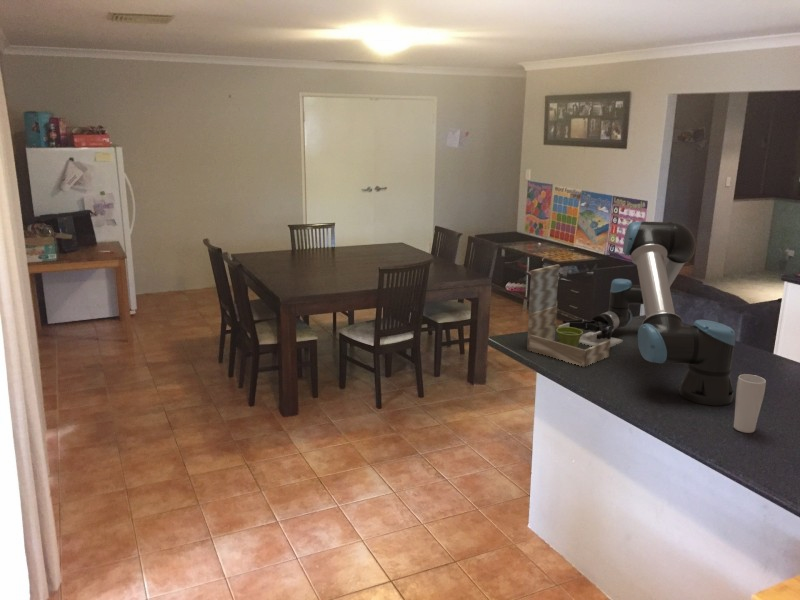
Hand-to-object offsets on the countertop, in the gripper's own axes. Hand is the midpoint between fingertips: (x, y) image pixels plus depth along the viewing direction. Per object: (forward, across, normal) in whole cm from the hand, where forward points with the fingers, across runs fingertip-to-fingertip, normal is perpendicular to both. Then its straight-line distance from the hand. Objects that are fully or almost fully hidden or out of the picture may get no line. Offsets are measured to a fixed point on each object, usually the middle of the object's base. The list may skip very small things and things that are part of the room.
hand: (574, 333), depth 241 cm
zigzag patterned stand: (+4, 0, -6) cm, 8 cm away
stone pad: (-16, 0, -6) cm, 17 cm away
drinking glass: (+21, -68, -7) cm, 72 cm away
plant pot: (+4, 0, -7) cm, 8 cm away
